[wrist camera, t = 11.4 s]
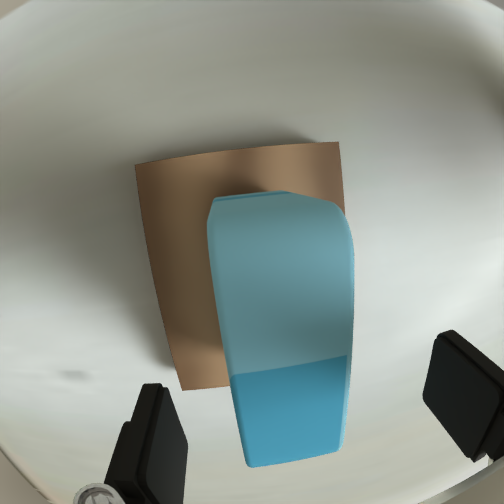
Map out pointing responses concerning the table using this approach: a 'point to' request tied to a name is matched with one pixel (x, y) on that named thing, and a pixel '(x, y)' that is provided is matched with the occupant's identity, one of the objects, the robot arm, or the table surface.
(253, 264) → the data package
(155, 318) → the table surface
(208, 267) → the base plate
